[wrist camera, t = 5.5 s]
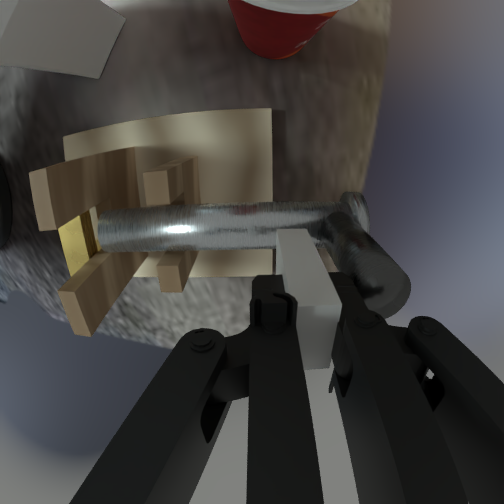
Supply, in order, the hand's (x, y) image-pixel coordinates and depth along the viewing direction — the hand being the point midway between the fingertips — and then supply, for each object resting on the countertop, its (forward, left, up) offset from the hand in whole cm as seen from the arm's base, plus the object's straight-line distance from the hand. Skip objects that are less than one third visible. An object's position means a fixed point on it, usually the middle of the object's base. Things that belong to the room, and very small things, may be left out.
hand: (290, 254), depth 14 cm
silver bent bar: (-4, 0, -6) cm, 7 cm away
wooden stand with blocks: (-11, 0, -13) cm, 17 cm away
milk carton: (-19, +18, -13) cm, 29 cm away
